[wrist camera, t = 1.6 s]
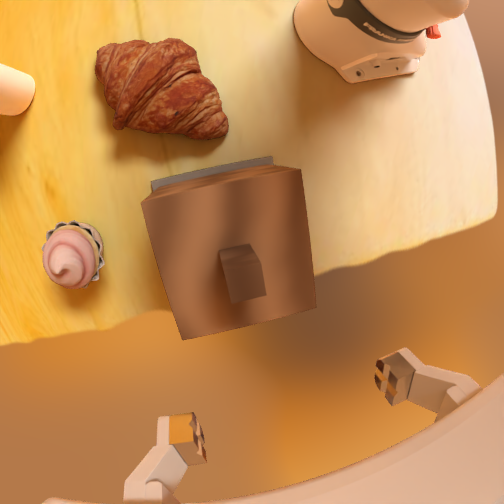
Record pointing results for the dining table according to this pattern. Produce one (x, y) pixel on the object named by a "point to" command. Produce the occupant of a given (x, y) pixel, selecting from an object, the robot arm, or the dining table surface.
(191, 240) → the wooden block with knob
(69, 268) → the cupcake
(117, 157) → the dining table surface
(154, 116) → the pastry
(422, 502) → the robot arm
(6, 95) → the can
